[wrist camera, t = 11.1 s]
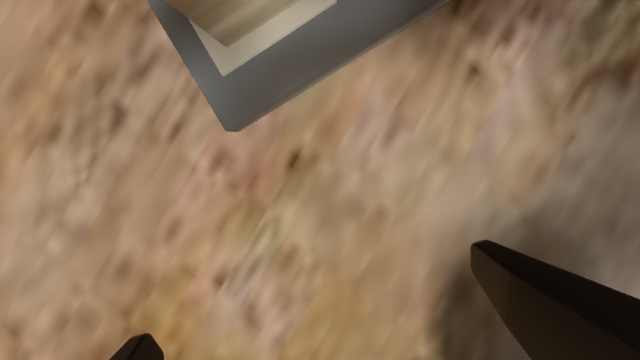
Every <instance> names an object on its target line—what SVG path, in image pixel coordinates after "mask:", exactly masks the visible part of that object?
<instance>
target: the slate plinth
mask: <svg viewBox="0 0 640 360" xmlns="http://www.w3.org/2000/svg"><path fill="white" fill-rule="evenodd" d="M449 1H450V0H301V1H300V2H298V3H296V4H295V5H293V6H292V7H290V8H289V9H287V10H285V11H284V12H282V13H281V14H279V15H278V16H276V17H275V18H273V19H271V20H270V21H268V22H267V23H265V24H264V25H262V26H260V27H259V28H257V29H256V30H254V31H253V32H251V33H249V34H248V35H246V36H245V37H243V38H242V39H240V40H238V41H237V42H235V43H234V44H232V45H231V46H229V47H227V48H226V47H225V46H224V45H222V44H221V43H220V42H218V41H217V40H216V39H214V38H213V37H212V36H211V35H209V34H208V33H207V32H205V31H204V30H203V29H202V28H200V27H199V26H198V25H196V24H195V23H194V22H192V21H191V20H190V19H189V18H187V17H186V16H185V15H183V14H182V13H181V12H179V11H178V10H177V9H176V8H174V7H173V6H172V5H170V4H169V3H168V2H167V1H165V0H147V2H148V3H149V5H150V7H151V8H152V10H153V11H154V13H155V15H156V16H157V18H158V20H159V21H160V23H161V25H162V26H163V28H164V30H165V31H166V33H167V35H168V36H169V38H170V40H171V41H172V43H173V45H174V46H175V48H176V50H177V51H178V53H179V55H180V56H181V58H182V60H183V61H184V63H185V64H186V66H187V68H188V69H189V71H190V73H191V74H192V76H193V78H194V79H195V81H196V83H197V84H198V86H199V88H200V89H201V91H202V93H203V94H204V96H205V98H206V99H207V101H208V103H209V104H210V106H211V108H212V109H213V111H214V113H215V114H216V116H217V117H218V119H219V121H220V122H221V124H222V126H223V127H224V129H225V131H231V132H239V131H241V130H242V129H244V128H245V127H247V126H249V125H250V124H252V123H254V122H255V121H257V120H258V119H260V118H262V117H263V116H265V115H266V114H268V113H270V112H271V111H273V110H274V109H276V108H278V107H279V106H281V105H283V104H284V103H286V102H287V101H289V100H291V99H292V98H294V97H295V96H297V95H299V94H300V93H302V92H304V91H305V90H307V89H308V88H310V87H312V86H313V85H315V84H316V83H318V82H320V81H321V80H323V79H325V78H326V77H328V76H329V75H331V74H333V73H334V72H336V71H337V70H339V69H341V68H342V67H344V66H346V65H347V64H349V63H350V62H352V61H354V60H355V59H357V58H358V57H360V56H362V55H363V54H365V53H366V52H368V51H370V50H371V49H373V48H375V47H376V46H378V45H379V44H381V43H383V42H384V41H386V40H387V39H389V38H391V37H392V36H394V35H396V34H397V33H399V32H400V31H402V30H404V29H405V28H407V27H408V26H410V25H412V24H413V23H415V22H417V21H418V20H420V19H421V18H423V17H425V16H426V15H428V14H429V13H431V12H433V11H434V10H436V9H438V8H439V7H441V6H442V5H444V4H446V3H447V2H449Z"/></svg>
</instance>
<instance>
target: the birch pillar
mask: <svg viewBox="0 0 640 360" xmlns="http://www.w3.org/2000/svg"><path fill="white" fill-rule="evenodd" d="M165 1H167V2H168V3H169V4H170V5H172V6H173V7H174V8H176V9H177V10H178V11H179V12H181V13H182V14H183V15H185V16H186V17H187V18H189V19H190V20H191V21H192V22H194V23H195V24H196V25H198V26H199V27H200V28H202V29H203V30H204V31H205V32H207V33H208V34H209V35H211V36H212V37H213V38H214V39H216V40H217V41H218V42H220V43H221V44H222V45H224V46H225V47H226V48H227V47H229V46H231V45H232V44H234V43H235V42H237V41H238V40H240V39H242V38H243V37H245V36H246V35H248V34H249V33H251V32H253V31H254V30H256V29H257V28H259V27H260V26H262V25H264V24H265V23H267V22H268V21H270V20H271V19H273V18H275V17H276V16H278V15H279V14H281V13H282V12H284V11H285V10H287V9H289V8H290V7H292V6H293V5H295V4H296V3H298V2H300V1H301V0H165Z"/></svg>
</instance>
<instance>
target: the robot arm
mask: <svg viewBox="0 0 640 360" xmlns="http://www.w3.org/2000/svg"><path fill="white" fill-rule="evenodd" d="M471 269H472V272H473V274H474V276H475V277H476V279H477V280H478V282H479V284H480V285H481V287H482V288H483V290H484V292H485V293H486V295H487V297H488V298H489V300H490V301H491V303H492V305H493V306H494V308H495V309H496V311H497V313H498V314H499V316H500V317H501V319H502V320H503V322H504V323H505V325H506V326H507V328H508V329H509V330H510V332H511V333H512V334H513V336H514V337H515V338H516V340H517V341H518V342H519V344H520V345H521V346H522V347H523V349H524V350H525V351H526V353H527V354H528V355H529V357H530V358H531V359H532V360H640V299H637V298H635V297H632V296H630V295H627V294H625V293H622V292H619V291H617V290H614V289H612V288H609V287H607V286H604V285H602V284H599V283H597V282H594V281H591V280H589V279H586V278H584V277H581V276H579V275H576V274H574V273H571V272H568V271H566V270H563V269H561V268H558V267H556V266H553V265H551V264H548V263H546V262H543V261H540V260H538V259H535V258H533V257H530V256H528V255H525V254H523V253H520V252H518V251H515V250H512V249H510V248H507V247H505V246H502V245H500V244H497V243H495V242H492V241H489V240H482V241H478V242H474V243H472V245H471ZM109 360H164V354H163V351H162V350H161V348H160V347H159V345H158V344H157V342H156V341H155V340H154V338H153V337H152V336H151V334H149V333H144V334H140V335H137V336H133V337H131V338H130V339H129V340H128V341H127V342H126V343H125V344H124V345H123V346H122V347H121V348H120V349H119V350H118V351H117V352H116V353H115V354H114V355H113V356H112V357H111V358H110V359H109Z"/></svg>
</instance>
